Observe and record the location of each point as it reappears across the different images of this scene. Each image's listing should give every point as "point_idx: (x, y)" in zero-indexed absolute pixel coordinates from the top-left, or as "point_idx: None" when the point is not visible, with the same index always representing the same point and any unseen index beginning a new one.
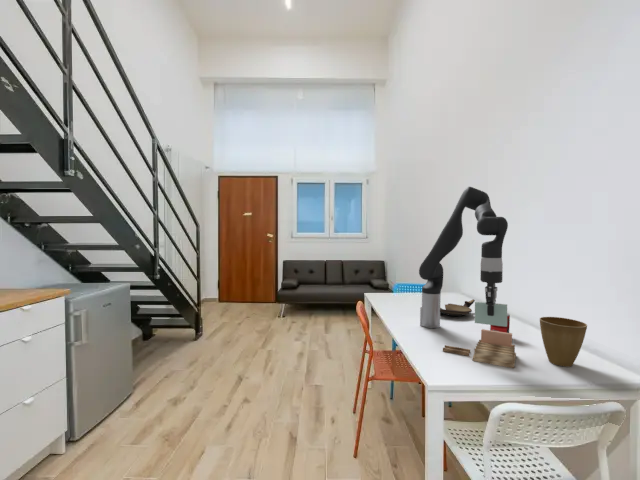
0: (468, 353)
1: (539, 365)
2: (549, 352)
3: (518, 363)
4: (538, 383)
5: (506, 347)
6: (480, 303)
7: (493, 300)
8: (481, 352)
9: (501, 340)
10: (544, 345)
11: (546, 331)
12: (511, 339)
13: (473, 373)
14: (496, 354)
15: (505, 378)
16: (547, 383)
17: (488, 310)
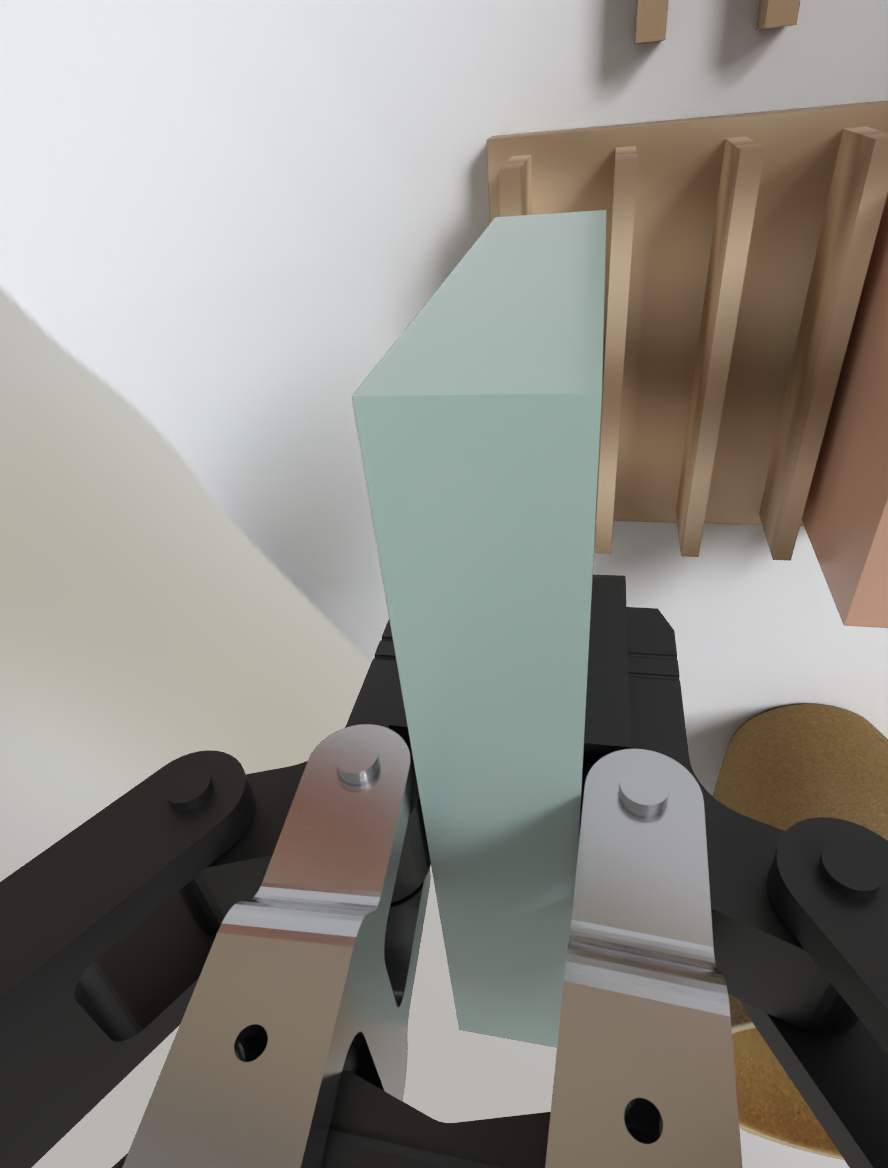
0: (636, 37)
1: (678, 645)
2: (759, 764)
3: (649, 529)
4: (329, 618)
5: (786, 490)
6: (395, 590)
7: (157, 1005)
8: None
9: (851, 472)
10: (822, 779)
11: None
12: (827, 583)
13: (166, 233)
14: None
15: (261, 461)
16: (364, 654)
17: (377, 660)
